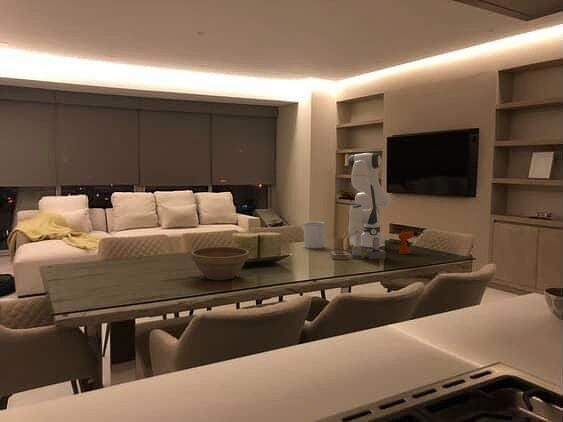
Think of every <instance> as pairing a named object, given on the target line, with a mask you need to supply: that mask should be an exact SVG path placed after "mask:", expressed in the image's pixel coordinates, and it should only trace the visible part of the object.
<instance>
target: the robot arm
mask: <svg viewBox="0 0 563 422" xmlns="http://www.w3.org/2000/svg"><path fill="white" fill-rule="evenodd" d="M347 160H348V161H347V163H348V168H350V170H351V180H350V181H351V186H352V187H353V188H354V189H355V190H357V191H358V192H357V193H356V194H355V197H354V202H355V204H350V206H349V211H348V213H347V214H348V215H347V216H348V217H347V219H348V221H349V223H348V233H349V243H351V244H352V248H361V247H364V248H373V238H374V236H375V235H376V236H379V248H380V247H385V244H384V243H383V234H382V233H381V224H380V223H381V217H380V215H379V213H378V209H377V208H379V209H380V208H381V209H382V208H387V207H389V206H390V203H391V201H392V200H391V196H390V194H389V193H388V192H386V191H385V190H384V189H383V188H382V186H381V184H380V181H379V174H378V168H380V166H381V163H382V158H381V155H380V154H379V153H377V152H364V153H356V154H355V153H353V154H350V155H349V157H348V159H347Z"/></svg>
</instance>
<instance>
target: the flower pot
mask: <svg viewBox="0 0 563 422" xmlns="http://www.w3.org/2000/svg"><path fill="white" fill-rule="evenodd" d="M190 254H191V255H190V258H191V261H193V262H194V264H195V266H196V267H197V269H198V270H199V271H200V272H201V273H202V274H203V275H204V276H205V277H206V279H208V280H213V281H225V280H231V279H234V278H235V276H236V275H237V274H238V273H239V272H240V270H242V268H243V267H244V266H245V263H246V261H248V260H249V257H250V256H249V250H247V249H245V248H240V247H235V246H211V247H202V248H198V249H197V248H196V249H194V250H192V251H191V253H190Z"/></svg>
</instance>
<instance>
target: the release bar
mask: <svg viewBox="0 0 563 422" xmlns="http://www.w3.org/2000/svg"><path fill="white" fill-rule="evenodd" d="M351 251H352V252H351V255H352V256H355V257H361V254H362V248H361V247H358V248H353V247H352V248H351Z"/></svg>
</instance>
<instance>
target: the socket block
mask: <svg viewBox="0 0 563 422" xmlns="http://www.w3.org/2000/svg"><path fill="white" fill-rule="evenodd" d="M365 251H366V252H365V254H366V255H365V256H366V257H367V258H368V259H369V260H386V258H387V252H386V251H384V250H383V249H379V252H373V249H366V250H365Z"/></svg>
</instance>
